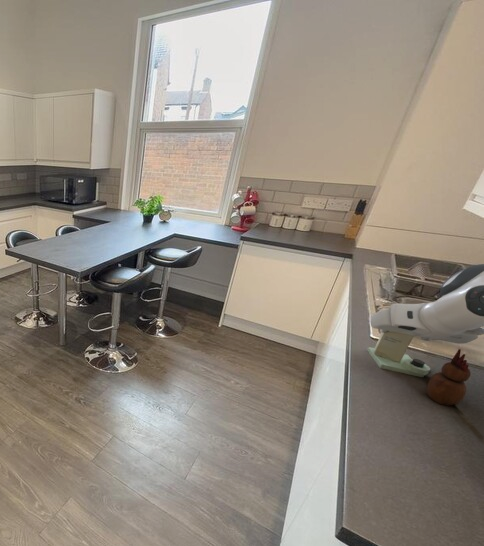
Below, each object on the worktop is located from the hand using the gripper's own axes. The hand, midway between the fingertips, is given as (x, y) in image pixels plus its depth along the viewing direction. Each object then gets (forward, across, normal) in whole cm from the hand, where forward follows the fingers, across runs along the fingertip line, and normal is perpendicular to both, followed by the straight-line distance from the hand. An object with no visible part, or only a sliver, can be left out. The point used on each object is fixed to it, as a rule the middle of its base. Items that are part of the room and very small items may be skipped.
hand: (403, 334), depth 93 cm
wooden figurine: (-2, -6, +18) cm, 19 cm away
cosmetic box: (+8, 0, +5) cm, 10 cm away
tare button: (+4, -5, +8) cm, 10 cm away
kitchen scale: (+8, -2, +7) cm, 11 cm away
